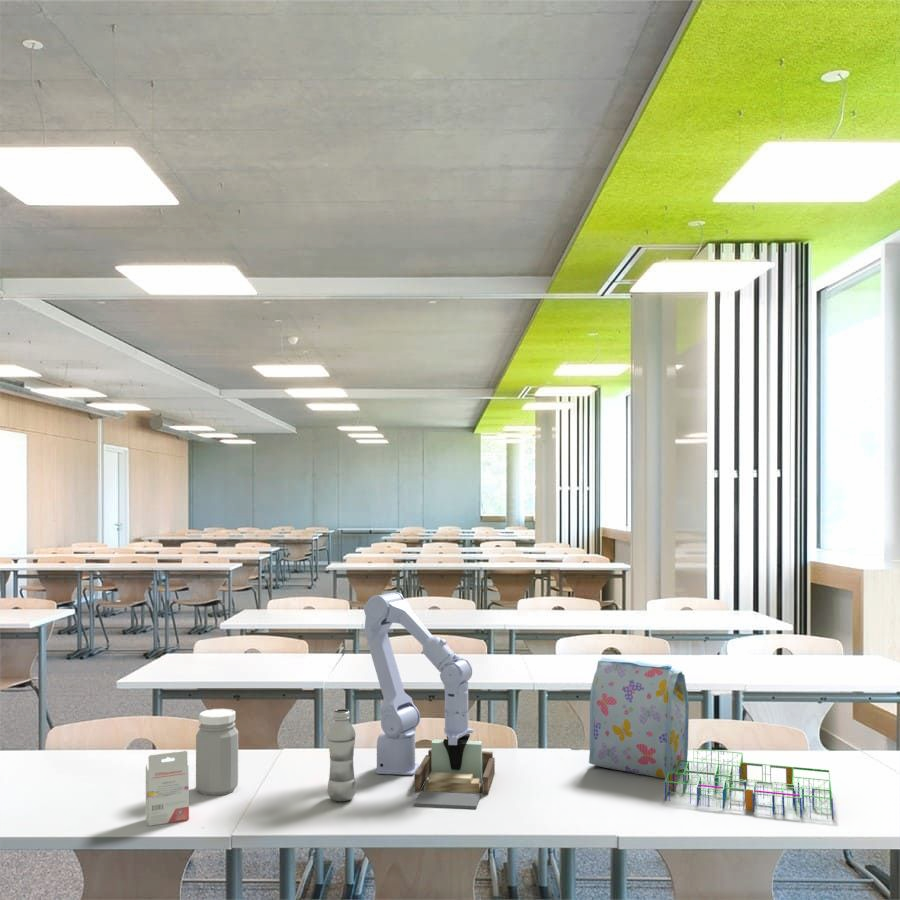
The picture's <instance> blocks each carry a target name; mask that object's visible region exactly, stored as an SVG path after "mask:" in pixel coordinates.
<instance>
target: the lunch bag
mask: <svg viewBox="0 0 900 900" xmlns="http://www.w3.org/2000/svg"><path fill="white" fill-rule="evenodd" d="M596 666H597V667H596V671H595V673H594V675H593V679H592V683H591V687H590V694H589V695H590V697H589V698H590V699H589V755H588V756H589V757H588V758H589V759H588V763H589V764H590V765H594V766H597V767H599V768H600V767H601V768H607V769H610V770H617V771H621V772H627V773H632V774H637V775H644V776H649V777H653V778H660V779H666V777H667V775H668V773H669V772H674V770H675V772H674V773H676V769H675V767H676V765H677V762H678V760H683V761H688V755H689V753H688V751H689V750H688V748H689V723H690V722H689V713H690V712H689V711H690V710H689V709H690V705H689V693H688V690H687V685H686V677H685V674H684V673H683V671H682V670H677V669H676V668H673V665H672V664H658V663H657V664H656V663H651V662H645V661H640V660H639V661H630V660H627V659H626V660H625V659H621V658H619V659H618V658H610V657H602V658H599V660H598V661H597V665H596ZM687 763H688V762H681V761H680V771H681V770H685V768H686V765H687ZM677 773H679V766H678V765H677Z"/></svg>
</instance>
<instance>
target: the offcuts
mask: <svg viewBox="0 0 900 900" xmlns="http://www.w3.org/2000/svg"><path fill="white" fill-rule="evenodd" d="M427 779H428V780H427V781H426V782H425V785H424V787H423V788H424V789H423V792H433V791H439V792H443V793H467V794H481V791H482V783H479V779H476V778H473V774H461V773H440V772H430V774H429V776H428V778H427Z"/></svg>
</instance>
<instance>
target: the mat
mask: <svg viewBox="0 0 900 900" xmlns="http://www.w3.org/2000/svg"><path fill="white" fill-rule="evenodd" d="M480 800H481V793H462V792H433V791H420V792H418V795H417V796H416V799H415V800H414V802H413V807H424V806H430V808H431V807H432V808H449V809H451V808H452V809H470V810H471V809H473V810H474V809H475V810H477V808H478V805H479V802H480Z"/></svg>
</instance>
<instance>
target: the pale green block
mask: <svg viewBox="0 0 900 900" xmlns="http://www.w3.org/2000/svg"><path fill="white" fill-rule="evenodd" d="M443 741H444V739H432V741H431V749H430V750H431V760H432V772H440V773H461V774H473V778H476V779H479V784H482V782H483V774H482V751H483V741H482V740H468V741H467V743H466V745H465V748H464V751H463V756H462V764H461V768H460V770H452V769H451V766H450V761H449V756H448V753H447V750H446V748H445V746H444V743H443ZM460 741H462V740H460Z"/></svg>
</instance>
